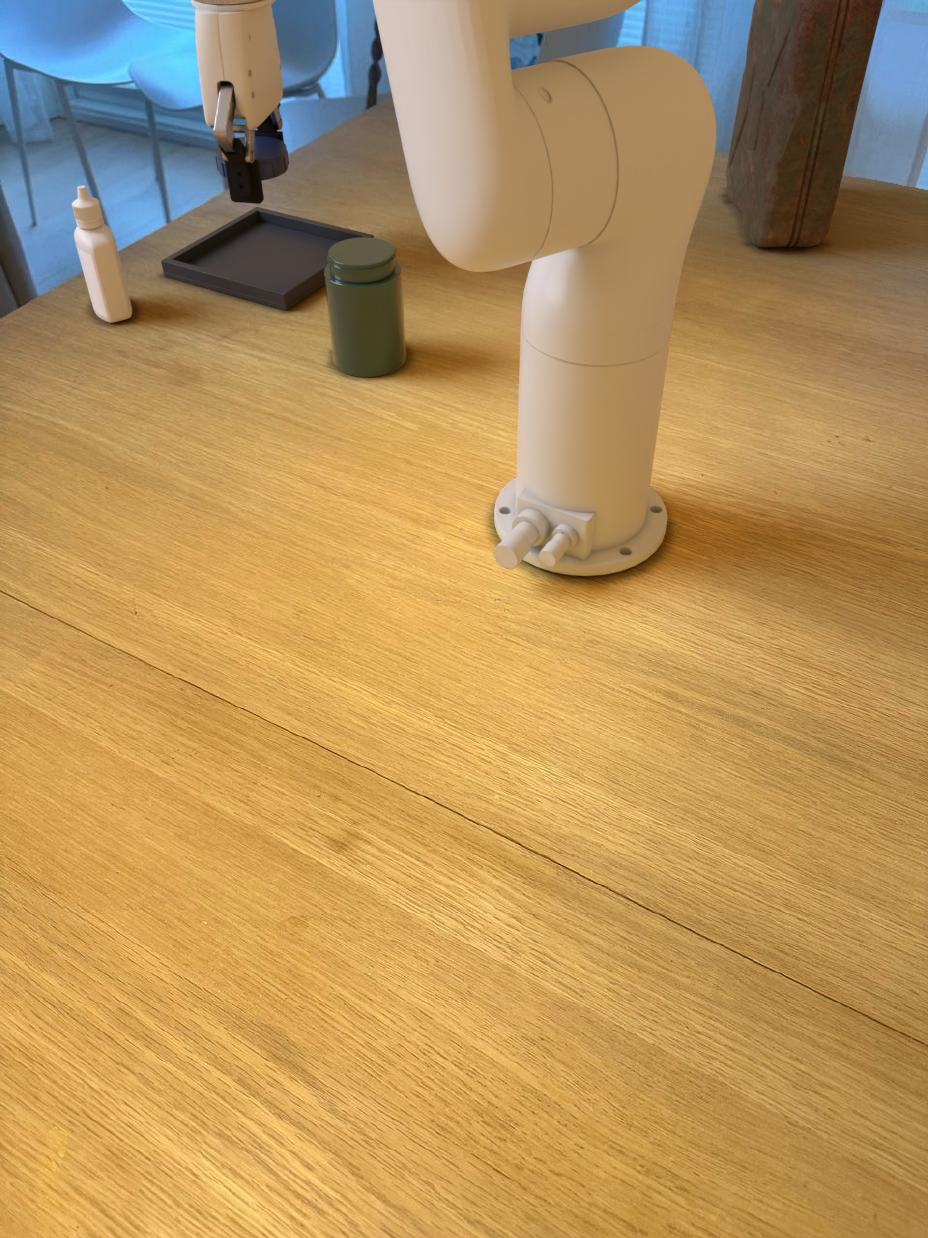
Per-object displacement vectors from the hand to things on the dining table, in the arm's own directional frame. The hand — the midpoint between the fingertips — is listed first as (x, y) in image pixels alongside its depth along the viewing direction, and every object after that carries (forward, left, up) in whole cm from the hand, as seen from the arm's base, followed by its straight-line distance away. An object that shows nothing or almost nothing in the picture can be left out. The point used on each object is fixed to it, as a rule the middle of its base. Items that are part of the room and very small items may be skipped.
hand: (259, 184), depth 105 cm
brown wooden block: (+36, -42, -8) cm, 56 cm away
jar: (-12, -20, -8) cm, 25 cm away
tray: (0, 0, -8) cm, 8 cm away
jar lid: (0, 0, +3) cm, 3 cm away
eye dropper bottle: (-16, +7, -8) cm, 19 cm away
